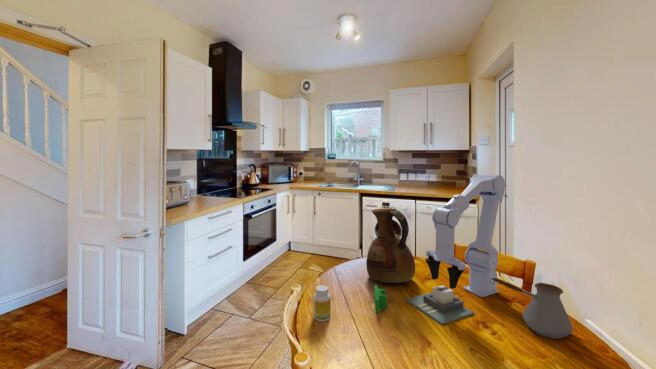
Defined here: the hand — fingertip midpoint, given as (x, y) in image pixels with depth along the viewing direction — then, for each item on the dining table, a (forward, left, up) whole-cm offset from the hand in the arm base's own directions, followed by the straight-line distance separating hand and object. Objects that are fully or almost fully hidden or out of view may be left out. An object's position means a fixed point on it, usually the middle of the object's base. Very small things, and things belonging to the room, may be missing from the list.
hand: (443, 283), depth 93 cm
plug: (0, 0, -8) cm, 8 cm away
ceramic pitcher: (+3, -25, -8) cm, 26 cm away
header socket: (+2, 0, -8) cm, 8 cm away
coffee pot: (-12, +20, -8) cm, 25 cm away
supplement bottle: (+40, -11, -8) cm, 42 cm away
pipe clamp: (+19, -10, -8) cm, 23 cm away
